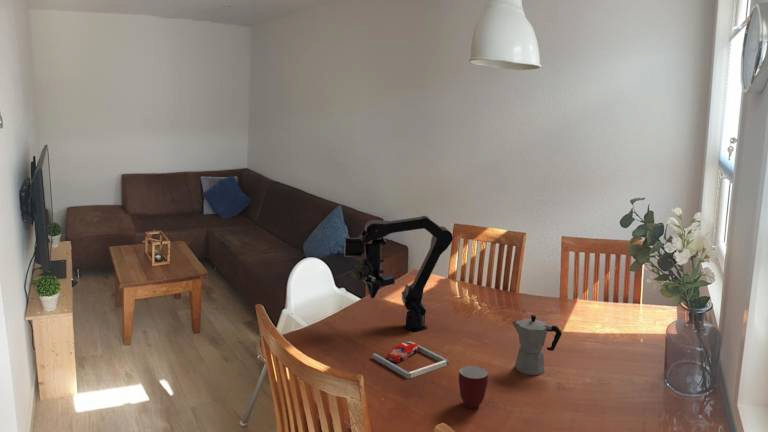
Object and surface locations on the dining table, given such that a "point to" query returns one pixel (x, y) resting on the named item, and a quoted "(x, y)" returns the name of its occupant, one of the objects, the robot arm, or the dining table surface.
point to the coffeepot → (533, 344)
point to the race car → (402, 352)
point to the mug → (473, 385)
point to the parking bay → (417, 372)
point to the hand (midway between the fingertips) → (372, 297)
